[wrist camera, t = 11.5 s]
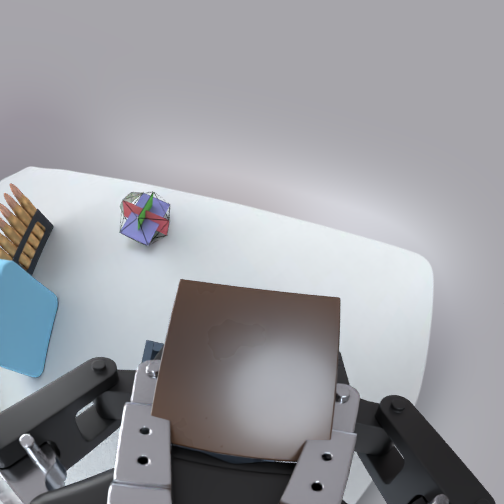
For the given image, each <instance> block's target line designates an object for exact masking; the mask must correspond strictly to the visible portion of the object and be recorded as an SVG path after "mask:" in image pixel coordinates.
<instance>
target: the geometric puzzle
mask: <svg viewBox="0 0 504 504" xmlns="http://www.w3.org/2000/svg"><path fill="white" fill-rule="evenodd" d="M150 193H151V192H150ZM153 193H154V191H153ZM153 193H152V194H151V196H150V195H147V192H146V194H145V193H144V192H143V193H137V192H131V193H130V194H129V195H128V196H126V197H125V198H124V199H122V202H121V205H120V208H121V210H122V211H121V213H122V212H123V215H124V217H127V218H128V219H127V220H126V222H125V224H124V226H123V227H122V229H120V230H121V231H120V232H119V233H121V234H123V235H125V236H127V237H129V238H131V239H133V240H135V241H137V242H138V243H139V242H141V243H142V244H145V245H147V246H149V244H150V243H151V242H152V241H153V240H152V241H151V239H154V238H155V237H156V236H157V235H158V234H157V235H156V236H155V237H154V238H152V237H153V235H154V233H155V231H158V232H160V233H163V234H165V236H167V232H168V226H169V221H170V214H169V216H168V217H167V218H168V219H169V220H167V219H165V218H163V217H164V215H165V214H166V211H167V209H168V207H169V206H170V204H169V203H166V202H163V201H161V200H159V199H158V198H157V197H156V198H157V199H156V198H154V197H153ZM141 194H142V195H141ZM154 194H155V193H154ZM140 195H141V196H140ZM139 196H140V197H139ZM155 196H156V195H155ZM158 196H159V195H158ZM138 197H139V198H140V199H139V198H138ZM136 198H138V199H139V201H138V202H137V204H136V205H134V204H135V203H136V202H135V203H134V204H132V202H133V201H134V200H135V199H136ZM138 199H137V200H138ZM163 200H164V199H163ZM169 210H170V207H169ZM166 216H167V215H166ZM123 219H124V218H123ZM125 219H126V218H125ZM120 223H121V221H120ZM122 223H123V221H122ZM121 226H122V225H121ZM165 236H164V237H165ZM160 237H162V236H160ZM156 238H158V237H156ZM150 241H151V242H150ZM157 241H158V240H157ZM155 242H156V241H155Z"/></svg>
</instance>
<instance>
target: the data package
mask: <svg viewBox="0 0 504 504" xmlns="http://www.w3.org/2000/svg"><path fill="white" fill-rule="evenodd" d="M57 307H58V300H57V297H56V295H55V294H54V293H53V292H51V291H50V290H49V289H47V288H46V287H45V286H44V285H42V284H41V283H40V282H38V281H37V280H36V279H35V278H33V277H32V276H31V275H30V274H28V273H27V272H26V271H25V270H24V269H22V268H21V267H20V266H19V265H18V264H16V263H15V262H14V261H10V260H4V259H0V367H3V368H6V369H9V370H12V371H15V372H18V373H21V374H25V375H28V376H31V377H39V376H40V375H41V374H42V372H43V369H44V364H45V358H46V353H47V348H48V344H49V339H50V335H51V331H52V327H53V323H54V319H55V315H56V311H57Z"/></svg>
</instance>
